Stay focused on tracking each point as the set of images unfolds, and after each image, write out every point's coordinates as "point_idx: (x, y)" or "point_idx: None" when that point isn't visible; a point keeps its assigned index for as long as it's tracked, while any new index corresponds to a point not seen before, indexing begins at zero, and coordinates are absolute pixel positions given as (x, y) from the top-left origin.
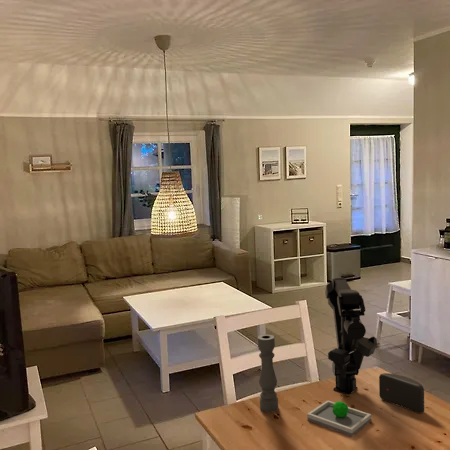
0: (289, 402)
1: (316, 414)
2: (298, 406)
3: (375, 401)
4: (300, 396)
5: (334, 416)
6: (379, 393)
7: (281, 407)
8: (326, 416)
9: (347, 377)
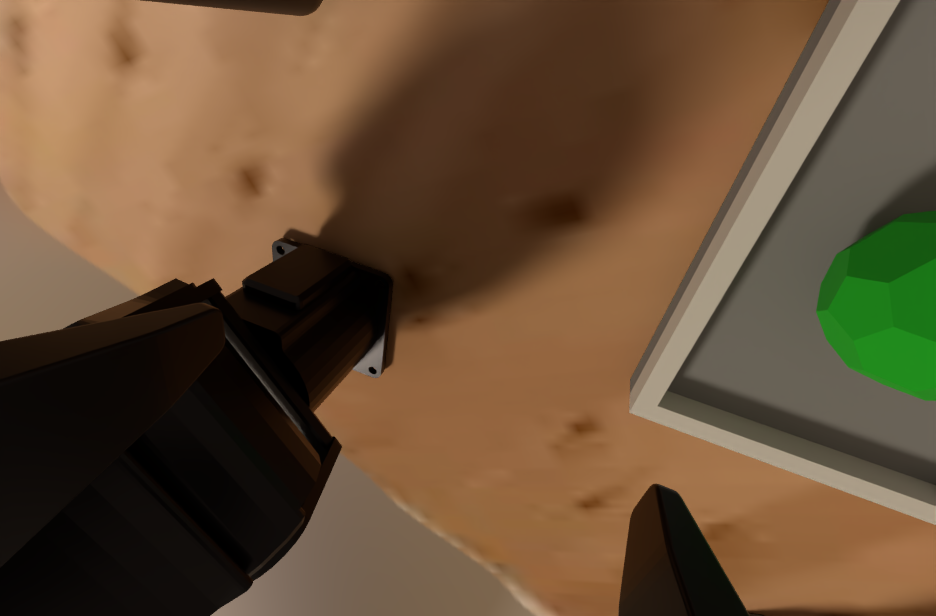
0: None
1: (869, 452)
2: None
3: (387, 39)
4: (544, 517)
5: None
6: (296, 10)
7: None
8: None
9: (294, 350)
